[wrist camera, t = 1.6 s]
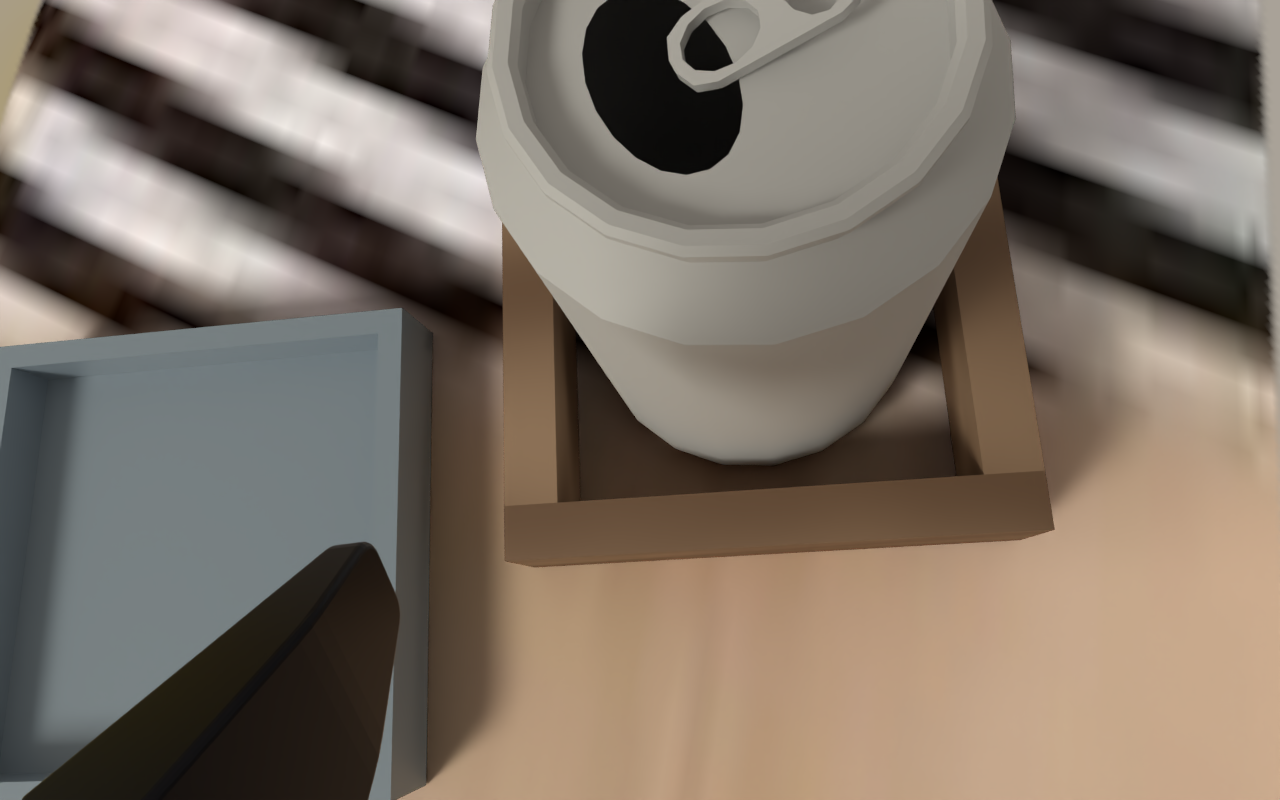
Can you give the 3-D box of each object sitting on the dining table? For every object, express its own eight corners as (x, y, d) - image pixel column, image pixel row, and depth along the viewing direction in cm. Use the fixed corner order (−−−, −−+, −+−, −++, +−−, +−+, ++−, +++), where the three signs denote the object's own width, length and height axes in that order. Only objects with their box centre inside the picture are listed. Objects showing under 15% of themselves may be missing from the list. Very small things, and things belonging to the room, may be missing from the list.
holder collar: (1020, 540, 20) (1054, 529, 17) (534, 567, 21) (504, 560, 19) (952, 99, 23) (974, 38, 20) (528, 150, 24) (501, 98, 22)
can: (560, 269, 23) (353, -74, 12) (815, 144, 23) (860, -330, 11) (679, 524, 21) (570, 414, 10) (960, 390, 21) (1195, 111, 9)
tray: (426, 784, 20) (390, 802, 19) (1, 794, 22) (-74, 812, 20) (432, 333, 23) (402, 307, 21) (54, 368, 25) (-6, 347, 23)
